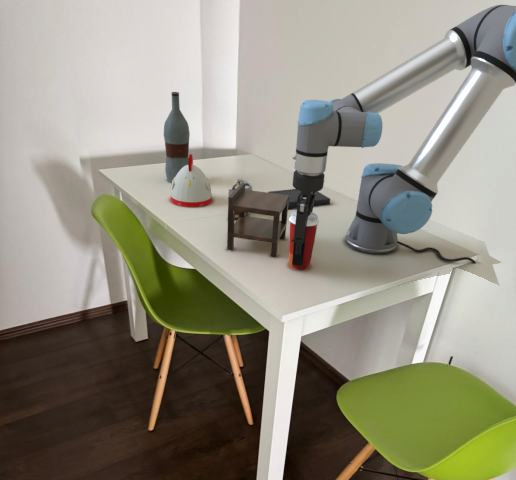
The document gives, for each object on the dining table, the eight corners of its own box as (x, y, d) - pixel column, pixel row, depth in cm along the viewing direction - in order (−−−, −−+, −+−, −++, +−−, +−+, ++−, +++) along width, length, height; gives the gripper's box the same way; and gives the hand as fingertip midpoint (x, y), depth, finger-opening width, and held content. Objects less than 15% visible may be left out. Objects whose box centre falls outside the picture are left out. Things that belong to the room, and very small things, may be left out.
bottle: (179, 175, 197) (176, 89, 179) (195, 180, 192) (194, 93, 175) (160, 179, 191) (155, 91, 173) (177, 185, 186) (173, 95, 169)
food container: (246, 223, 159) (248, 192, 153) (227, 221, 160) (228, 189, 154) (254, 210, 169) (256, 180, 163) (236, 208, 170) (237, 178, 164)
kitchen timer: (168, 206, 168) (166, 159, 159) (173, 192, 179) (171, 148, 171) (210, 207, 169) (210, 161, 160) (212, 194, 180) (212, 150, 171)
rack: (285, 238, 151) (289, 188, 143) (275, 257, 140) (280, 204, 131) (240, 231, 153) (241, 182, 145) (227, 249, 142) (228, 197, 134)
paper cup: (319, 266, 136) (326, 216, 128) (300, 274, 132) (306, 223, 124) (297, 256, 141) (302, 207, 133) (278, 264, 136) (282, 214, 128)
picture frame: (285, 209, 171) (329, 204, 178) (286, 203, 170) (330, 197, 177) (267, 196, 181) (310, 192, 188) (268, 190, 180) (310, 186, 187)
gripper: (300, 159, 131) (292, 243, 144) (286, 181, 115) (278, 272, 128) (329, 163, 129) (318, 246, 142) (319, 185, 114) (307, 277, 127)
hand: (299, 258), depth 135 cm, fingers closed on paper cup, 7 cm apart
